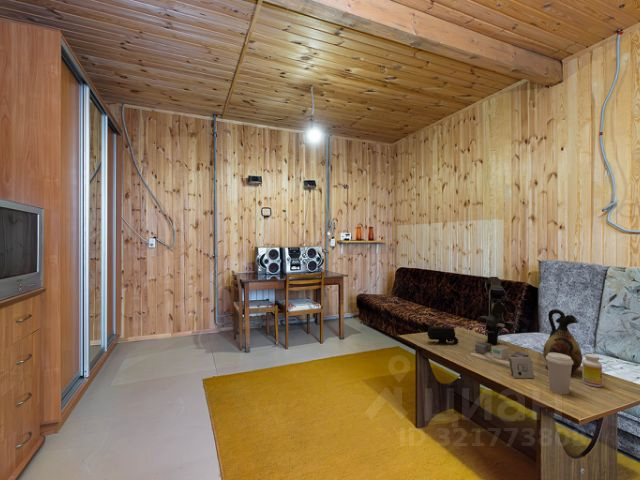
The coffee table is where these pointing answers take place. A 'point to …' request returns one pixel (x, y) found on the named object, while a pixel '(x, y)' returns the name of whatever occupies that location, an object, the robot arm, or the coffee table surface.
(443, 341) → the security camera
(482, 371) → the coffee table surface
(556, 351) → the ceramic jug
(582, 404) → the coffee table surface
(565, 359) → the coffee cup
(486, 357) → the rail panel
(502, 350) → the module block
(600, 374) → the supplement bottle
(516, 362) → the electrical switch
